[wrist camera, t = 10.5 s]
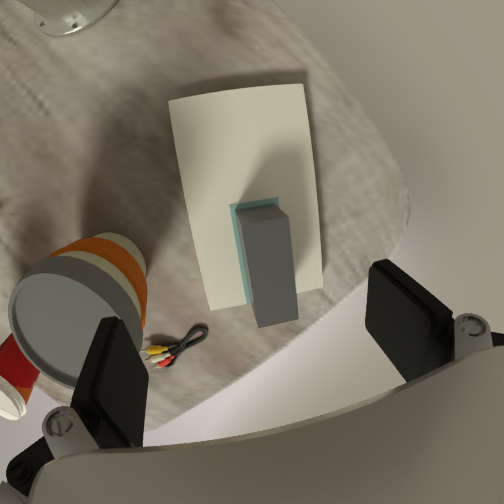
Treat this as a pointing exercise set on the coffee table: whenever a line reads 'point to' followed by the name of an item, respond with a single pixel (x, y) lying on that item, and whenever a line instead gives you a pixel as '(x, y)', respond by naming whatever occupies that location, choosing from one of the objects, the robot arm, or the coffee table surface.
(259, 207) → the block
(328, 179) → the coffee table surface
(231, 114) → the board
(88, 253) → the reusable coffee cup
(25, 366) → the coffee cup
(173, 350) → the composite cable
